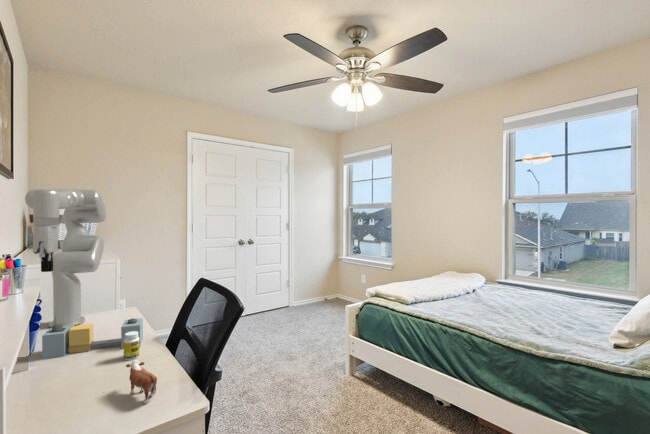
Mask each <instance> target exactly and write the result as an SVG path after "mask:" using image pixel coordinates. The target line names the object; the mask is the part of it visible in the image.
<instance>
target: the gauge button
mask: <svg viewBox="0 0 650 434" xmlns="http://www.w3.org/2000/svg"><path fill="white" fill-rule="evenodd" d="M54 332H63V324H56V325H53V326H52V333H54Z"/></svg>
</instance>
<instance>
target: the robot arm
mask: <svg viewBox="0 0 650 434" xmlns="http://www.w3.org/2000/svg"><path fill="white" fill-rule="evenodd" d="M24 201H25V203H26V206H28V208H30V209H32V212H33V213H32V215H33V218H32V219H33V223H32V224H33V228H34V231H33V238H32V239H33V241H32V253H33V254H35V255H37V254H39V255H38V257H39V258H40V272H41V273H46V272H50V273H51V276H52V297H53V298H52V299H53V300H52V301H53V302H52V304H53V306H52V309H53V320H52V321H50V322H49V323H48V327H49V328H50V327H51V328H52V326H53V325H56V324H63V326H72V327H73V326H75V325H78V324H79V325H82V324H83V323H84V322H86V318H85V316H82V300H81V299H82V298H81V297H82V295H81V292H82V289H81V288H82V287H81V281H80V279H79V277H78V276H77V275H75V274H84V273H85V274H86V273H87V274H88V273H94V272H96V271H97V270H98V269H99V267H100V263H101V260H102V257H103V253H104V249H105V248H104V247H105V245H104V244H105V243H104V239H103V238H102V237H101V236H100V235H89V234H90V232H89V230H88V229H87V228H86V227H85V225H83V224H81V223H94V224H95V223H102V222H103V223H104V222H105V221H106V219H107V209H106V207H105V204H104V199H103V198H102V195H101V193H100V192H99V191H98V190H97V189H75V188H56V189H53V188H52V189H43V188H42V189H41V188H39V189H29V190H28V191H27V193H26V194H25V197H24ZM60 210H64V211H63V222H64V226H65V228H66V234H65V236H64V239H63V241H62V243H61V248H60V250H61V251H60V252H56V251H57V250H58V249H59V235H58V232H59V231H58V227H60V226H61V225H60ZM55 252H56V253H55Z"/></svg>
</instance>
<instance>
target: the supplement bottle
mask: <svg viewBox="0 0 650 434" xmlns="http://www.w3.org/2000/svg"><path fill="white" fill-rule="evenodd" d="M139 357H140V347H139V337H138V332H137V331H131V332H128V333H126V334H125V340H124V349H123V360H125V361H134V360H137V358H139Z"/></svg>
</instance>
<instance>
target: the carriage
mask: <svg viewBox="0 0 650 434" xmlns="http://www.w3.org/2000/svg"><path fill="white" fill-rule="evenodd" d="M91 342H94V323H88V324H87V323H86V324H79V325H76V326H72V328H71V329H70V330H69V353H68V354H74V353H82V352H87V351H88V352H90V351H91V350H90V344H91Z"/></svg>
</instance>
